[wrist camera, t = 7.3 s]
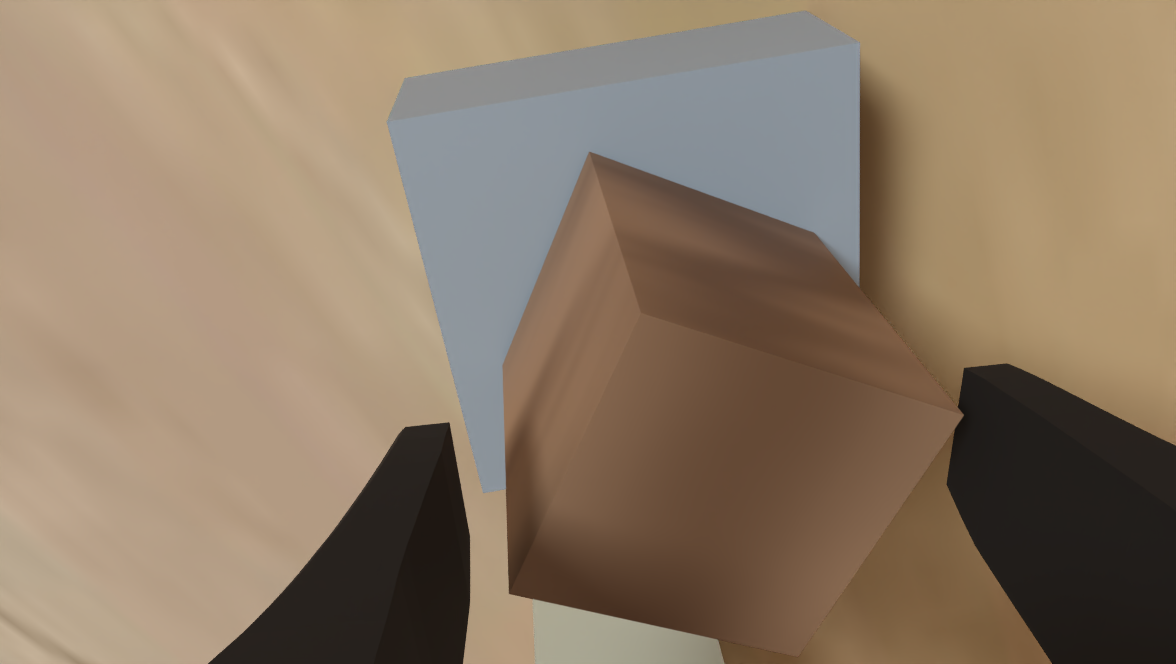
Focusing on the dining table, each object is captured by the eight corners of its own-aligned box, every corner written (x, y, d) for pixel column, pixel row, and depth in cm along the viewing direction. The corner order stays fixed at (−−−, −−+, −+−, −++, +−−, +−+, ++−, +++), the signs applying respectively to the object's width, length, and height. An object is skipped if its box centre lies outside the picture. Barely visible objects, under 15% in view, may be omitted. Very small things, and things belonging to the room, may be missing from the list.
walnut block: (814, 232, 17) (963, 414, 11) (710, 424, 19) (798, 657, 13) (589, 151, 16) (641, 313, 10) (502, 365, 17) (509, 593, 12)
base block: (800, 7, 18) (859, 42, 15) (810, 347, 22) (859, 430, 19) (407, 73, 18) (387, 121, 15) (486, 401, 22) (483, 492, 19)
